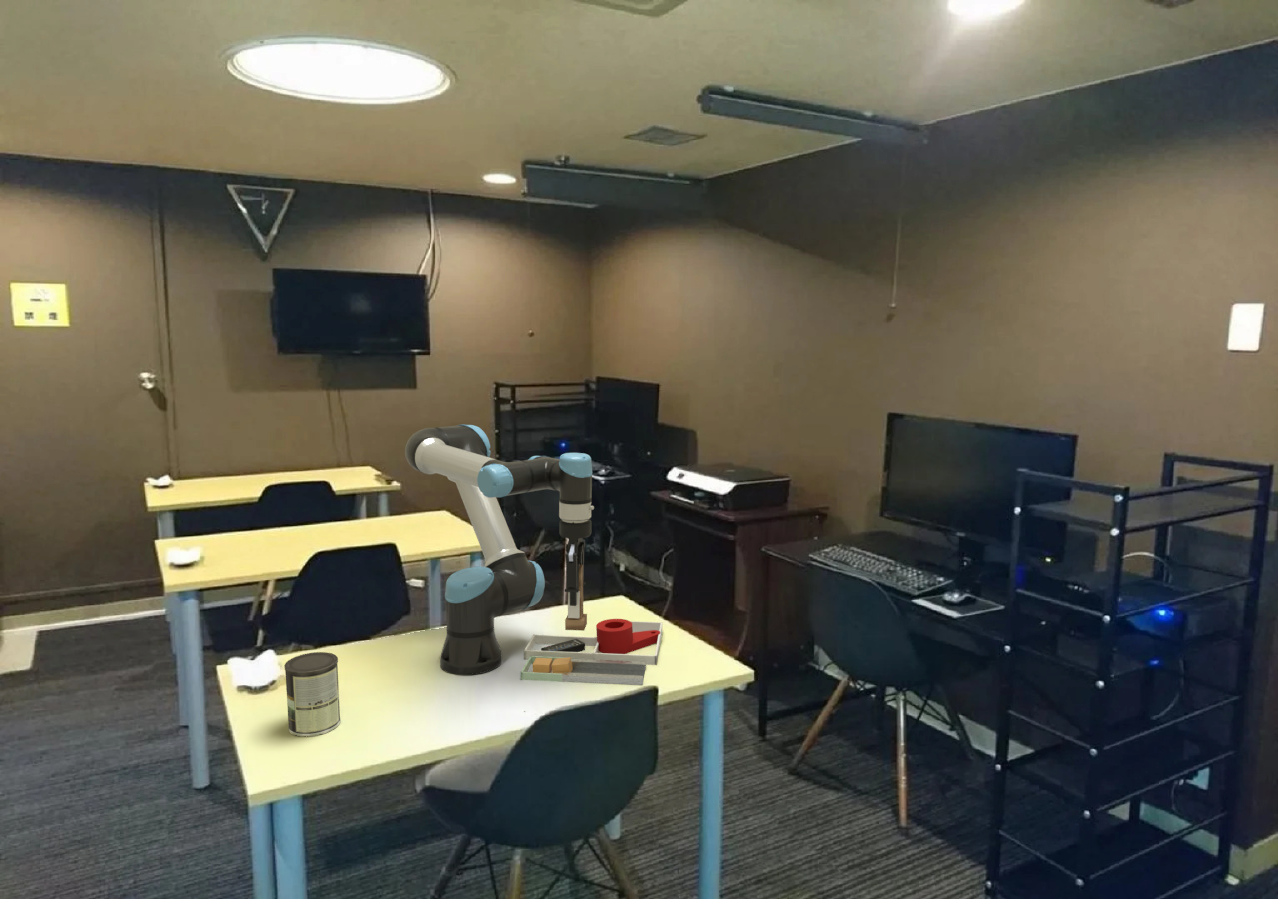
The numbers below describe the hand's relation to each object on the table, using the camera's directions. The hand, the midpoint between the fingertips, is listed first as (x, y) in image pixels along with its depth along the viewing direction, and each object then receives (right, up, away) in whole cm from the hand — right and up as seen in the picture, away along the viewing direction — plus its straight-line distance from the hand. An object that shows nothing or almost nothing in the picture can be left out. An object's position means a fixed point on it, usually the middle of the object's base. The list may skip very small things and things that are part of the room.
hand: (575, 614), depth 190 cm
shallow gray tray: (+7, -15, +1) cm, 17 cm away
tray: (-7, -15, +3) cm, 17 cm away
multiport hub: (-4, -14, +15) cm, 20 cm away
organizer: (+4, -13, +20) cm, 24 cm away
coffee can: (-53, -19, -23) cm, 61 cm away
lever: (+13, -13, +20) cm, 27 cm away
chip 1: (-8, -15, +3) cm, 17 cm away
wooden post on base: (0, -3, 0) cm, 3 cm away
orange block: (-3, -15, +2) cm, 15 cm away
